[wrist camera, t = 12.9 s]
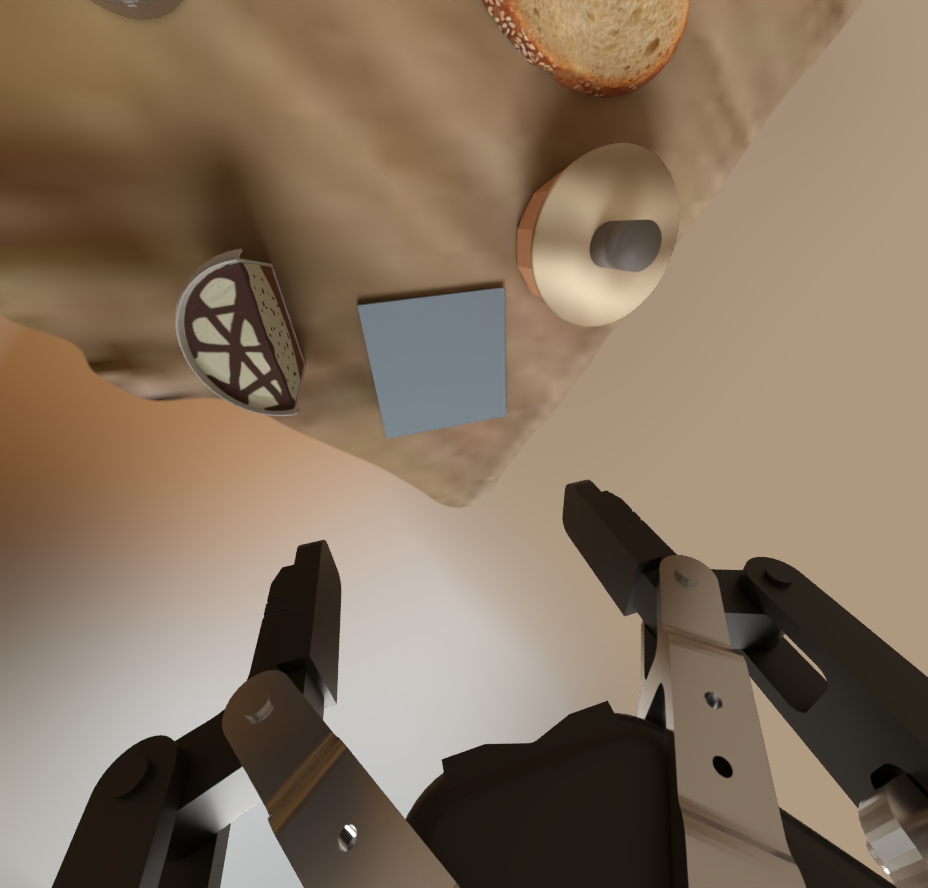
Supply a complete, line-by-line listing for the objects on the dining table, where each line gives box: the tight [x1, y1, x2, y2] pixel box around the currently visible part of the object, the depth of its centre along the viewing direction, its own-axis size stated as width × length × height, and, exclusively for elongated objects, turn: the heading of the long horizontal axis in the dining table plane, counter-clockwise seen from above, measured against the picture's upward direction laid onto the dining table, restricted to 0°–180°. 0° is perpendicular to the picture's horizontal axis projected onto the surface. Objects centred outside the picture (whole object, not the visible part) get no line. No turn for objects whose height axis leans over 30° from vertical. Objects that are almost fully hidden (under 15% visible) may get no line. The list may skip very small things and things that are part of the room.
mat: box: [358, 287, 506, 438], centre depth 40 cm, size 15×15×1 cm
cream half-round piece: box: [175, 249, 306, 416], centre depth 30 cm, size 12×6×10 cm, turn 5°
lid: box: [530, 143, 679, 327], centre depth 30 cm, size 14×14×5 cm
